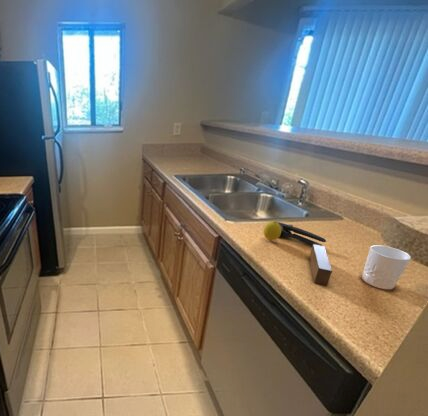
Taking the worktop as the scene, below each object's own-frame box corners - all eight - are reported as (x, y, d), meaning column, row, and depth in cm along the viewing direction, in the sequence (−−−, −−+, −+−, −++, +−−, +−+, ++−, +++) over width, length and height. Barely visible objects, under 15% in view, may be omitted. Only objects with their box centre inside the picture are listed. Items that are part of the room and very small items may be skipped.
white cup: (399, 295, 73) (414, 263, 70) (360, 284, 78) (372, 253, 74) (394, 280, 79) (407, 250, 76) (357, 271, 84) (368, 242, 80)
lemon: (268, 236, 106) (272, 217, 103) (282, 242, 101) (287, 222, 98) (258, 239, 104) (262, 219, 101) (271, 245, 99) (276, 225, 96)
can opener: (265, 234, 107) (268, 221, 105) (273, 229, 111) (276, 217, 109) (320, 252, 94) (324, 237, 92) (326, 245, 98) (331, 231, 96)
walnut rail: (320, 259, 90) (324, 246, 88) (327, 286, 77) (332, 271, 76) (309, 257, 92) (313, 244, 90) (314, 282, 79) (318, 268, 77)
